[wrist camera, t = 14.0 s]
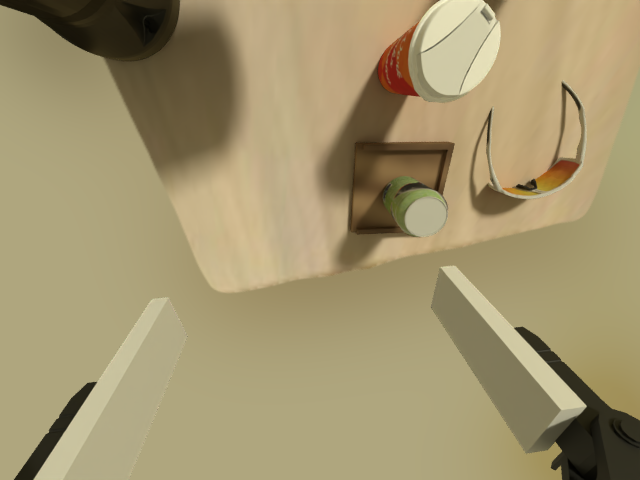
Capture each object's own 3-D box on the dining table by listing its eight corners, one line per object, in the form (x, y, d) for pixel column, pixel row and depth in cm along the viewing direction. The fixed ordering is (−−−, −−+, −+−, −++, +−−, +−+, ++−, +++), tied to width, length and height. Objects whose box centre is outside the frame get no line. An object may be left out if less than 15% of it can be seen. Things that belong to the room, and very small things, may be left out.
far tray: (355, 142, 37) (358, 144, 36) (448, 141, 38) (454, 143, 37) (350, 229, 44) (352, 234, 42) (428, 226, 45) (433, 231, 43)
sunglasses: (480, 205, 44) (501, 212, 39) (468, 113, 39) (490, 109, 34) (564, 176, 43) (595, 180, 38) (563, 77, 38) (599, 68, 33)
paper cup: (398, 14, 31) (468, -43, 18) (439, 61, 33) (525, 38, 21) (356, 76, 33) (394, 63, 21) (398, 115, 36) (452, 122, 24)
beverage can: (404, 216, 43) (440, 254, 32) (366, 199, 40) (392, 234, 30) (426, 182, 40) (474, 211, 30) (388, 162, 38) (424, 186, 27)
